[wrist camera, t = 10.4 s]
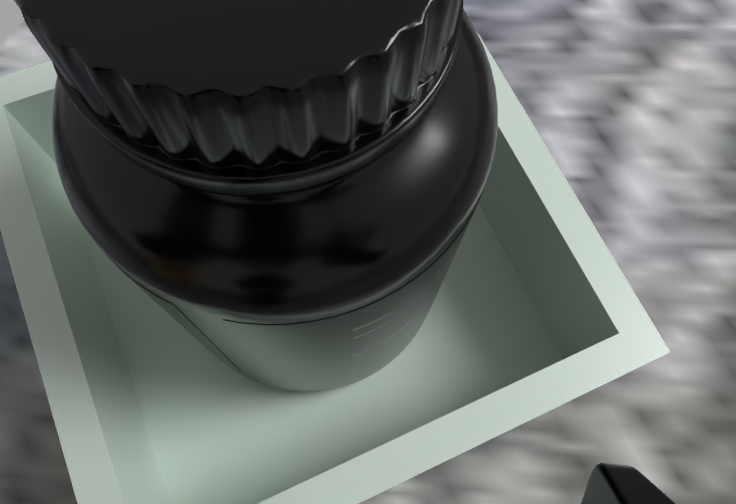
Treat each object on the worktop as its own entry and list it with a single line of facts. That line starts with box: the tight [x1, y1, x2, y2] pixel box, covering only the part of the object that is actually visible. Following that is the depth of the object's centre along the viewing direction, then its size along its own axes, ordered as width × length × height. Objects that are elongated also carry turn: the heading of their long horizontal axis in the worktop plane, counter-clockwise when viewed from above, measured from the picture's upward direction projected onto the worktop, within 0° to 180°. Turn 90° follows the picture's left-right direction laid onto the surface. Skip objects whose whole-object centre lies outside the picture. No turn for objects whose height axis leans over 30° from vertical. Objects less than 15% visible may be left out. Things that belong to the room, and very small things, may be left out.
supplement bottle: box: [14, 0, 498, 392], centre depth 12 cm, size 7×7×12 cm
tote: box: [0, 34, 670, 504], centre depth 16 cm, size 12×12×4 cm
